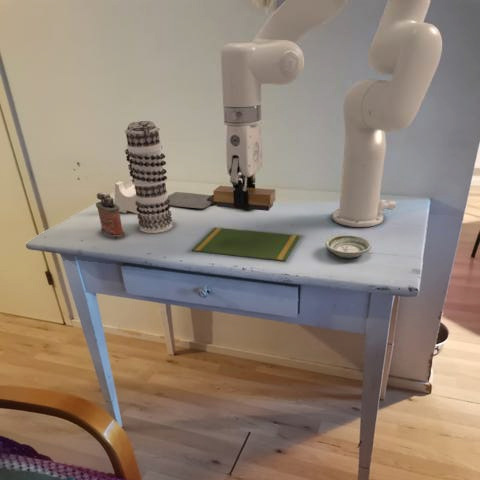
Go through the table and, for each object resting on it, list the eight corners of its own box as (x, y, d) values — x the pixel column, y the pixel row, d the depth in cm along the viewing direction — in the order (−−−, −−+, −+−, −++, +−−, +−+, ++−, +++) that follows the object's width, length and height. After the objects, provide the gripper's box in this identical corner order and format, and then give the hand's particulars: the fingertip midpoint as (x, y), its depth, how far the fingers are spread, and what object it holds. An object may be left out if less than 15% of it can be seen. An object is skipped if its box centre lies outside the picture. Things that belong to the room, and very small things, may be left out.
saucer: (376, 261, 94) (377, 250, 93) (331, 264, 94) (332, 254, 93) (361, 243, 103) (363, 233, 101) (320, 246, 102) (320, 236, 101)
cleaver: (260, 205, 127) (259, 198, 126) (244, 216, 120) (243, 209, 118) (174, 195, 139) (173, 188, 138) (155, 205, 132) (153, 197, 131)
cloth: (300, 236, 107) (300, 235, 107) (285, 261, 96) (285, 260, 96) (214, 228, 114) (214, 227, 114) (191, 251, 103) (191, 249, 103)
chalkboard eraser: (220, 201, 104) (219, 185, 102) (275, 205, 100) (275, 189, 98) (214, 206, 100) (213, 190, 98) (270, 211, 97) (270, 194, 95)
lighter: (127, 236, 112) (120, 196, 107) (115, 240, 110) (107, 200, 105) (110, 228, 117) (102, 190, 112) (98, 232, 115) (90, 193, 110)
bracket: (137, 216, 126) (140, 191, 122) (114, 209, 127) (115, 183, 122) (154, 201, 137) (157, 177, 132) (132, 195, 137) (134, 171, 133)
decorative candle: (134, 224, 119) (116, 122, 105) (168, 218, 122) (155, 118, 108) (143, 236, 112) (124, 128, 98) (178, 229, 115) (165, 123, 101)
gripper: (246, 122, 82) (249, 219, 92) (272, 109, 95) (271, 194, 105) (208, 122, 84) (215, 216, 94) (238, 108, 98) (241, 192, 108)
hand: (244, 203), depth 100 cm, fingers closed on chalkboard eraser, 4 cm apart
